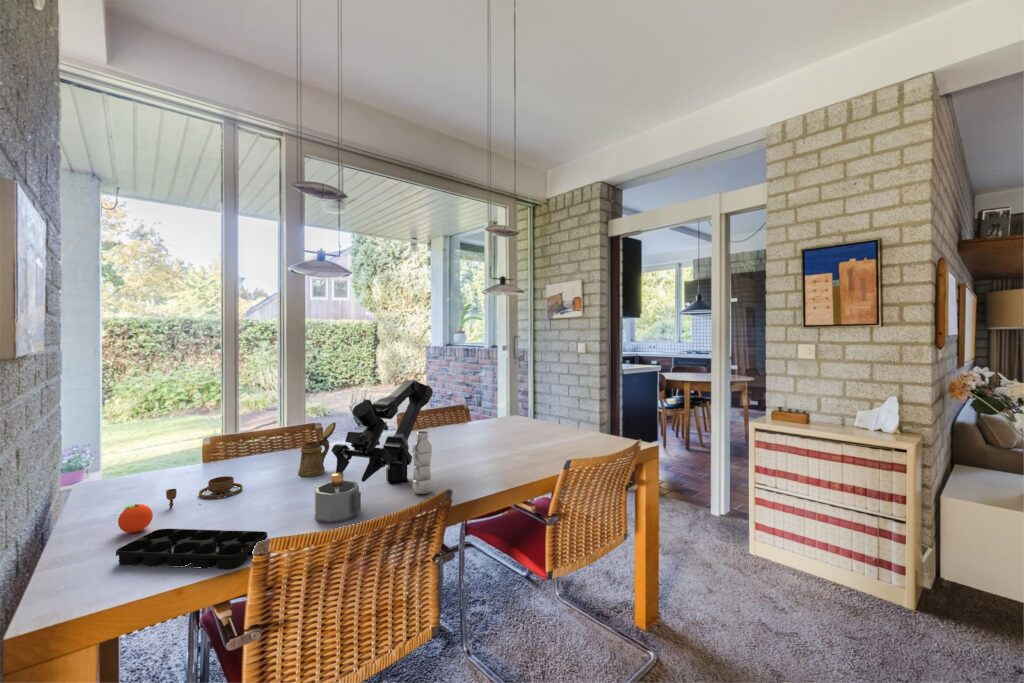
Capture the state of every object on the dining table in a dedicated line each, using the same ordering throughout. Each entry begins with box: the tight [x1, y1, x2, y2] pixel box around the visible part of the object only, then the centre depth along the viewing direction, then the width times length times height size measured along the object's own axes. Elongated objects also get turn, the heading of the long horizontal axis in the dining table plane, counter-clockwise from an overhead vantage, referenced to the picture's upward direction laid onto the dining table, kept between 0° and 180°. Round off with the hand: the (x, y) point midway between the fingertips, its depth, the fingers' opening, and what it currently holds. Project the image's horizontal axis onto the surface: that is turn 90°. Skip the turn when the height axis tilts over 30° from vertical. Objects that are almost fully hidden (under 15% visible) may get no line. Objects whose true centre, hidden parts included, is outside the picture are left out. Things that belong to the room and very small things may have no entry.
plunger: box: [330, 472, 344, 493], centre depth 126 cm, size 8×8×10 cm
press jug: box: [314, 479, 362, 524], centre depth 126 cm, size 12×13×8 cm
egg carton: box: [115, 528, 268, 570], centre depth 103 cm, size 18×30×4 cm, turn 99°
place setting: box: [165, 475, 243, 509], centre depth 141 cm, size 18×20×6 cm
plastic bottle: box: [411, 430, 433, 495], centre depth 144 cm, size 6×7×20 cm
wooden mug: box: [297, 421, 337, 478], centre depth 166 cm, size 9×14×18 cm, turn 134°
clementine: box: [114, 503, 154, 534], centre depth 114 cm, size 8×7×7 cm
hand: (349, 479), depth 131 cm, fingers open, 9 cm apart
